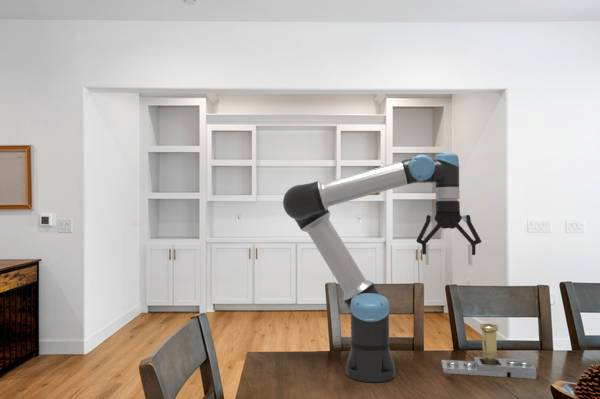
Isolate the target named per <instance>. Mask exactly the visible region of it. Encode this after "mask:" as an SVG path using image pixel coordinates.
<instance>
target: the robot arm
mask: <svg viewBox="0 0 600 399" xmlns="http://www.w3.org/2000/svg"><path fill="white" fill-rule="evenodd" d="M424 183H425V184H427V183H429V184H433V183H435V200H437V201H436V202H435V215H429V214H427V215H426V217H425V222H424V224H423V226H422V228H421V231H420V232H419V235H418V236H417V238H416V241H415V242H416V243H417V244H421V248H422V249H421V253H422V255H425V265H426V266H429V264H430V262H429V254H430V253H429V244H427V243H428V242H429V241H430V240H431V239H432V238H433V236H434V235H435V234H436V233H437V232H438V231H439V230H440V229H443V230H446V229H455V228H456V229H457V230H458V232H460V234H461V235H462V236H463V237H464V239H466V240H467V241H468V242H469V244H468V245H467V246H468V250H467V251H468V252H467V253H468V254H467V255H468V257H467V258H468V262H467V263H468V266H471V267H472V266H473V256H475V255H476V247H477V245H478V244H481V243H482V240H481V237H480V236H479V233H478V232H477V231H476V228H475V227H474V225H473V223H472V220H471V219H472V218H471V216H470V214H466V215H461V213H460V212H461V210H460V208H461V207H460V206H461V205H460V201H459V200H460V194H461V193H460V163H459V155H458V154H456V153H454V152H444V153H437V154H435V156H434V159H433V158H431V157H430V156H428V155H426V154H418V155H415V156H414V157H411V158H407V159H404V160H401V161H397V162H393V163H389V164H386V165H383V166H380V167H376V168H371V169H369V170H365V171H362V172H358V173H354V174H350V175H347V176H344V177H340V178H337V179H333V180H329V181H326V182H321V181H319V180H317V181H314V182H310V183H304V184H297V185H294V186H291V187H290V188H289V189H287V191H286V192H285V194H284V196H283V200H282V205H283V209H284V211H285V213H286V214H287V215H288V216H289V217H290V218H291V219H294V221H295V222H296V224H297V225H298V227H299V229H300V231H301V232H305V233H307V234H308V235H309V237H310V239H311V240H312V242H313V243H314V245H315V247H316V249H317V251H318V252H319V253H320V255H321V256H322V257H321V258H323V260H324V262H325V263H326V264H327V266H328V268H329V270H330V272H331V274H332V275H333V277H334V278H335V280H336V281H337V283H338V285H339V286H340V288H341V289H342V292H343V298H342V300H343V301H344V303H345V305H346V307H347V309H348V310H349V311H350V350H349V354H348V357H347V359H346V360H347V361H346V363H345V375H346V376H347V377H349V378H350V379H353V380H356V381H360V382H365V383H382V382H387V381H391V380H393V379H394V378H395V377H396V372H397V371H396V365H395V362H394V359H393V356H392V353H391V349H390V304H389V300H388V298H387V297H386V296H384V295H382V294H381V293H380V292H379V290H378V289H377V286H376V285H375V284H374V282H373V281H372V280H368V279H366V278H365V276H364V274H363V272H362V271H361V269H360V268H359V266H358V265H357V263H356V261H355V260H354V258H353V257H352V255H351V253H350V251H349V250H348V248H347V246H346V244H345V243H344V241H343V240H342V238H341V237H340V235H339V233H338V232H337V230H336V229H335V227H334V225H333V224H332V221H331V220H330V216H331V211H329V209H328V208H330V207H331V206H335V205H339V204H341V203H346V202H349V201H352V200H356V199H361V198H365V197H368V196H371V195H373V194H377V193H378V194H379V193H383V192H385V191H389V190H393V189H396V188H400V187H404V186H407V185H411V184H412V185H413V184H424ZM433 220H435V222H436V223H437V224H436V225H435V226H434V227H433V229H432V230H430V232H429V233H428V234H427V235H426V237H424V235H425V234H426V232H427V229H428V227H429V226H430V223H432V222H433ZM462 220H463V222H465V223H466V225H467V227H468V229H469V231H470V232H471V235H472V237H473V238H474V239H473V238H472V237H471V236H470V235H469V234H468V233H467V232H466V230H464V228H463V227H462V226H461V225H460V222H461V221H462ZM423 237H424V239H423Z"/></svg>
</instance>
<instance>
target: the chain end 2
mask: <svg viewBox="0 0 600 399" xmlns="http://www.w3.org/2000/svg"><path fill="white" fill-rule="evenodd" d="M473 358H474V360H473V362H475V363H476V366H477V368H478V370H482V371H499V372H507V375H508V376H509V377H510V378H512V379H513V378H514V379H515V378H516V379H531V380H537V369H536V367H535V366H534V364H533V363H532V362H531V361H530V360H529V359H516V358H498V357H497V364H498V365H488V364H482V363H483V356H482V357H481V356H474V357H473Z"/></svg>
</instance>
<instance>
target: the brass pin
mask: <svg viewBox="0 0 600 399" xmlns="http://www.w3.org/2000/svg"><path fill="white" fill-rule="evenodd" d="M479 325H480V326H479V329H480V330H481V335H482V338H481V339H482V340H481V341H482V357H483V364H488V365H497V358H498V355H497V354H498V351H497V349H498V348H497V343H498V342H497V331H499V326H498V325H497V324H495V323H494V324H493V323H481V324H479Z"/></svg>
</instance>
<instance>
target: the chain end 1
mask: <svg viewBox="0 0 600 399" xmlns="http://www.w3.org/2000/svg"><path fill="white" fill-rule="evenodd" d="M440 363H441V368H442V371H443V373H444V374H450V375H451V374H452V375H453V374H454V375H470V376H485V377H486V376H487V377H499V378H500V377H501V378H508V373H507V372H499V371H482V370H478V368H477V366H476V363H475V362H474V361H473V360H454V359H441V362H440ZM482 364H483V363H482ZM497 365H498V364H497Z"/></svg>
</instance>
